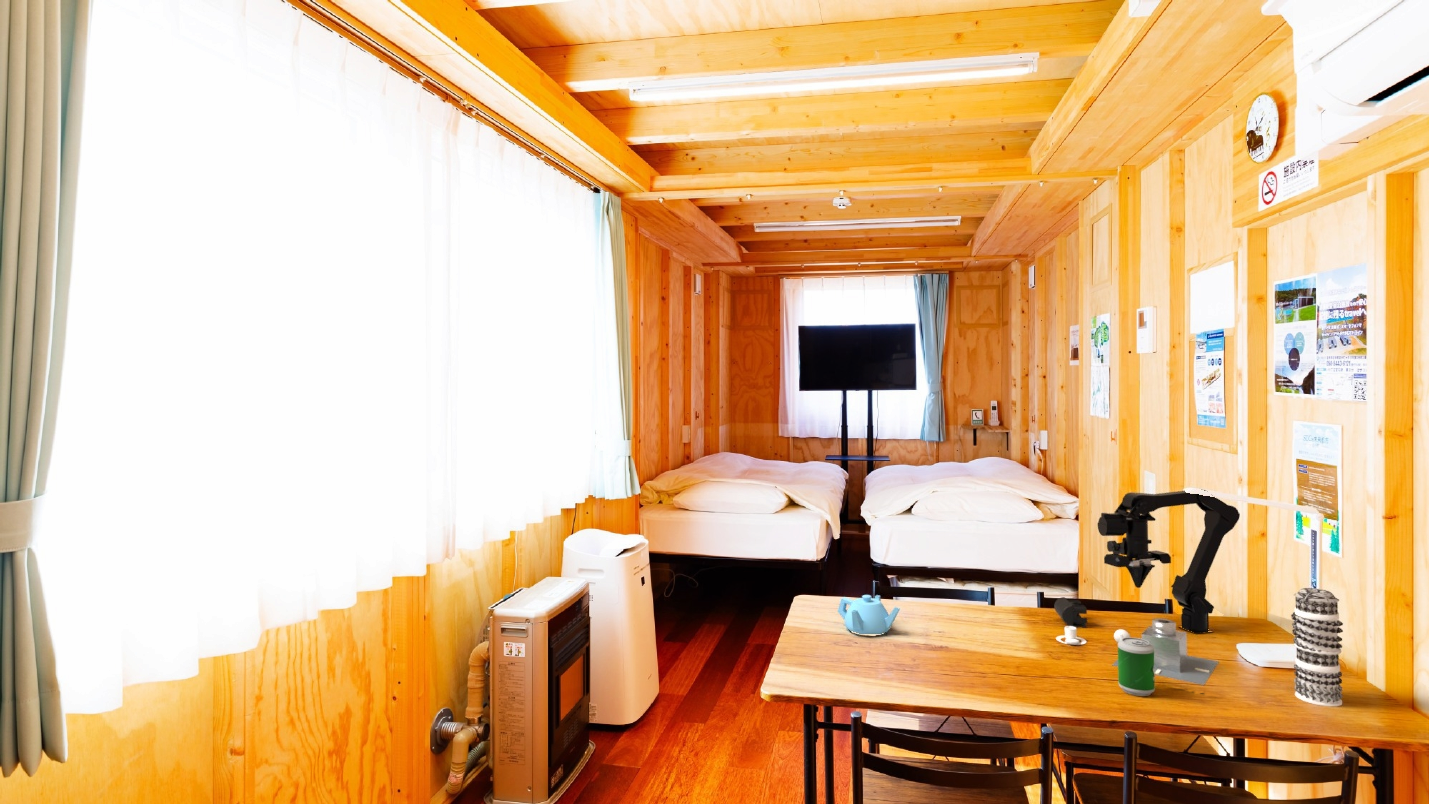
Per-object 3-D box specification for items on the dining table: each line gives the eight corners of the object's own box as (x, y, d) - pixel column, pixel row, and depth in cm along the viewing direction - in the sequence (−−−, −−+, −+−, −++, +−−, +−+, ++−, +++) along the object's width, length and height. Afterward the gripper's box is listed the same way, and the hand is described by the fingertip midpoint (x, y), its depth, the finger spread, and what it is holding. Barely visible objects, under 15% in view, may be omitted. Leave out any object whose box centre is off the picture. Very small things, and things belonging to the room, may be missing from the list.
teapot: (881, 621, 231) (881, 587, 231) (901, 636, 216) (901, 600, 216) (836, 624, 228) (835, 590, 228) (853, 640, 214) (852, 604, 214)
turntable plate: (1132, 648, 201) (1131, 612, 201) (1218, 665, 187) (1218, 626, 187) (1112, 669, 187) (1111, 630, 187) (1203, 689, 173) (1203, 647, 173)
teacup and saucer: (1078, 649, 203) (1078, 634, 203) (1050, 642, 209) (1049, 628, 209) (1091, 641, 209) (1090, 627, 209) (1063, 635, 215) (1062, 621, 214)
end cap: (1054, 617, 230) (1053, 596, 230) (1078, 618, 229) (1077, 597, 229) (1062, 627, 221) (1061, 605, 221) (1087, 628, 219) (1087, 606, 219)
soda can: (1154, 700, 168) (1153, 648, 167) (1117, 693, 172) (1116, 643, 171) (1155, 688, 174) (1154, 639, 174) (1119, 682, 178) (1118, 634, 178)
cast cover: (1150, 655, 193) (1149, 614, 193) (1187, 663, 187) (1186, 620, 187) (1142, 664, 187) (1141, 621, 186) (1180, 672, 181) (1179, 628, 181)
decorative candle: (1296, 702, 165) (1293, 593, 164) (1289, 687, 172) (1287, 583, 172) (1348, 710, 160) (1346, 598, 160) (1339, 695, 168) (1337, 588, 168)
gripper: (1142, 528, 225) (1143, 578, 225) (1090, 532, 222) (1091, 583, 222) (1172, 535, 214) (1173, 587, 215) (1117, 539, 211) (1118, 592, 211)
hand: (1138, 587), depth 216 cm, fingers closed
